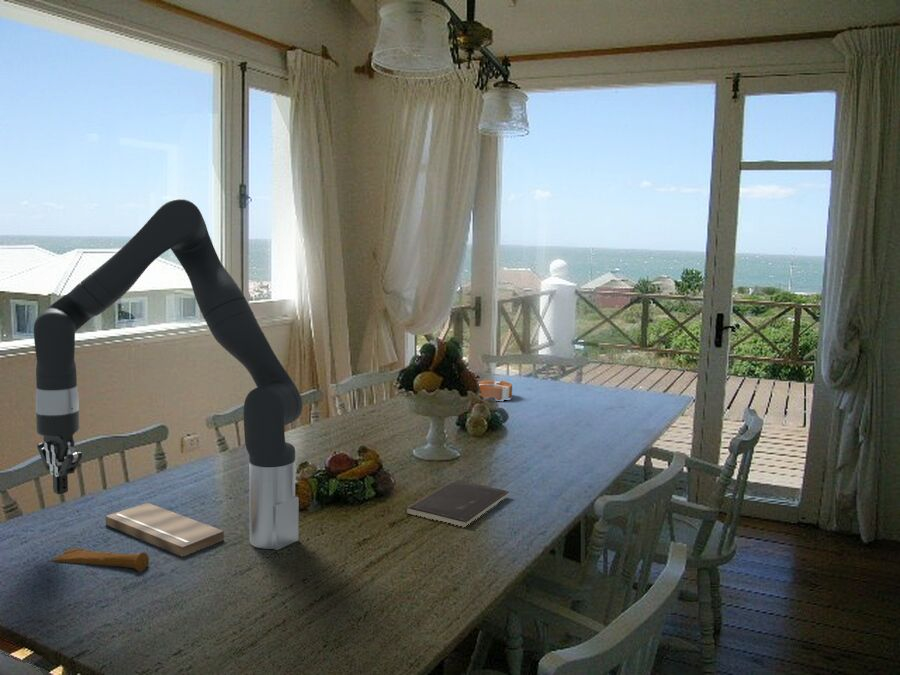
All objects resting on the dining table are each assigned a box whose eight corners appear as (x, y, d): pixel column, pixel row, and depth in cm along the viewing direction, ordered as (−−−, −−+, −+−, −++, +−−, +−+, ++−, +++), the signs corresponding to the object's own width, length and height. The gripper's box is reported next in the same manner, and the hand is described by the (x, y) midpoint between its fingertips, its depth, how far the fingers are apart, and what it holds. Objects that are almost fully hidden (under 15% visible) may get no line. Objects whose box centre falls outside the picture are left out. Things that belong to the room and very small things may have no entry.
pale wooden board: (223, 540, 150) (223, 530, 149) (182, 556, 141) (182, 546, 141) (147, 511, 164) (147, 502, 163) (105, 524, 155) (105, 515, 155)
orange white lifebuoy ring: (468, 397, 293) (494, 393, 303) (493, 404, 282) (520, 399, 292) (468, 380, 292) (494, 377, 302) (494, 387, 281) (520, 383, 291)
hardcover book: (508, 499, 180) (508, 491, 180) (465, 530, 160) (466, 520, 160) (452, 487, 188) (452, 479, 187) (405, 515, 168) (405, 506, 167)
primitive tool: (50, 562, 138) (49, 545, 137) (70, 551, 143) (70, 534, 143) (139, 575, 134) (139, 557, 134) (157, 563, 139) (157, 546, 139)
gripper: (94, 411, 143) (96, 495, 145) (58, 400, 150) (61, 480, 152) (56, 418, 136) (59, 505, 139) (21, 406, 144) (24, 490, 146)
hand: (60, 492), depth 145 cm, fingers closed
